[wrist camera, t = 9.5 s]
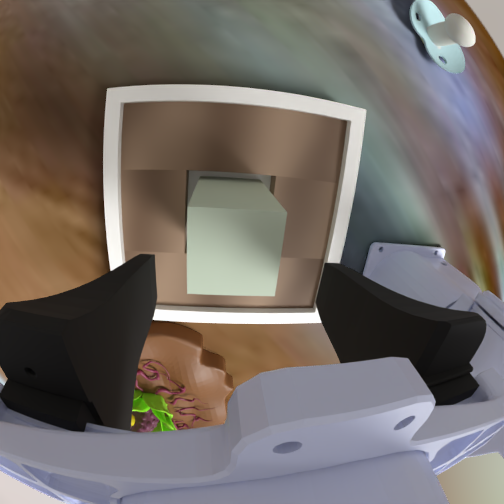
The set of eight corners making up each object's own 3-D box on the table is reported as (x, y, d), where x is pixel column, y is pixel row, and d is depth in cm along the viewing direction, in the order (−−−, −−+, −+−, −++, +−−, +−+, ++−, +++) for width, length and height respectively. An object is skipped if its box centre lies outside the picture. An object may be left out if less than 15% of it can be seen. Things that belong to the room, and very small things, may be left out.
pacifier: (427, -1, 13) (391, 8, 14) (470, -16, 8) (437, -13, 9) (463, 63, 16) (433, 80, 17) (509, 60, 11) (485, 76, 11)
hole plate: (337, 121, 18) (347, 121, 16) (307, 297, 23) (313, 308, 22) (131, 105, 16) (123, 103, 14) (135, 291, 21) (130, 302, 20)
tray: (347, 111, 18) (366, 109, 15) (313, 301, 24) (324, 322, 22) (122, 93, 16) (107, 88, 13) (127, 295, 22) (118, 317, 19)
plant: (105, 425, 31) (92, 489, 21) (39, 321, 23) (-8, 398, 13) (241, 426, 32) (250, 499, 22) (222, 313, 24) (229, 424, 14)
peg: (260, 179, 19) (287, 212, 11) (254, 234, 20) (274, 296, 13) (200, 175, 18) (187, 206, 11) (197, 232, 20) (187, 293, 12)
